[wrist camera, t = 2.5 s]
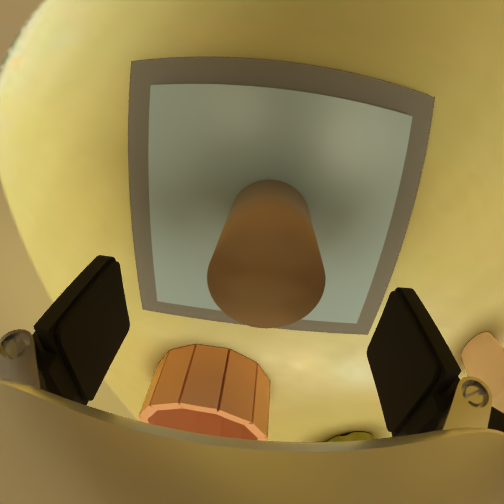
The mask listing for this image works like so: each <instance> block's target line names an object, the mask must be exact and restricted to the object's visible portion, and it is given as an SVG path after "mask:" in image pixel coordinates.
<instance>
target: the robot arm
mask: <svg viewBox="0 0 504 504" xmlns="http://www.w3.org/2000/svg"><path fill="white" fill-rule="evenodd" d="M129 327H130V322H129V316H128V311H127V306H126V300H125V295H124V289H123V283H122V276H121V269H120V264H119V262H116V260H115V258H114V257H109V256H102V255H98V256H97V257H96V258H95V259H94V260H93V261H92V262H91V263H90V264H89V265H88V266H87V267H86V268H85V269H84V270H83V271H82V272H81V273H80V274H79V275H78V277H77V278H76V279H75V280H74V281H73V282H72V283H71V284H70V285H69V286H68V287H67V288H66V289H65V291H64V292H63V293H62V294H61V295H60V296H59V297H58V298H57V300H56V301H55V302H54V303H53V304H52V305H51V306H50V308H49V309H48V310H47V311H46V312H45V313H44V314H43V316H42V317H41V318H40V319H39V320H38V322H37V323H36V324H35V325H34V329H35V332H34V334H33V335H32V334H31V333H30V332H29V331H26V330H21V329H18V330H13V331H10V332H8V333H7V334H5V335H4V336H3V337H2V338H1V339H0V504H504V413H503V412H501V411H499V410H497V409H496V408H494V407H492V394H491V391H490V389H489V388H488V386H487V385H486V384H485V383H484V382H483V381H482V380H480V379H478V378H476V377H471V376H467V377H464V378H462V379H461V380H460V379H459V377H458V375H459V374H460V372H461V369H460V367H459V366H458V364H457V362H456V360H455V358H454V356H453V354H452V353H451V351H450V349H449V347H448V345H447V344H446V342H445V340H444V338H443V337H442V335H441V333H440V331H439V330H438V328H437V326H436V325H435V323H434V321H433V320H432V318H431V316H430V315H429V313H428V311H427V310H426V308H425V307H424V305H423V303H422V302H421V300H420V299H419V297H418V296H417V294H416V293H415V291H414V290H413V289H411V288H400V287H398V288H396V290H395V291H392V292H391V293H390V295H389V298H388V301H387V303H386V306H385V308H384V311H383V313H382V316H381V318H380V321H379V323H378V325H377V328H376V330H375V332H374V335H373V337H372V339H371V342H370V344H369V346H368V349H367V358H368V361H369V364H370V368H371V371H372V374H373V378H374V381H375V385H376V388H377V392H378V396H379V399H380V403H381V407H382V411H383V414H384V418H385V422H386V426H387V429H388V431H389V432H392V436H393V437H390V438H381V439H372V440H360V441H344V442H276V441H260V440H248V439H237V438H228V437H220V436H213V435H206V434H199V433H193V432H188V431H182V430H177V429H172V428H167V427H162V426H158V425H153V424H149V423H145V422H141V421H137V420H133V419H129V418H125V417H122V416H118V415H115V414H112V413H108V412H105V411H102V410H99V409H96V408H92V407H89V406H86V405H87V403H88V401H91V400H93V399H94V396H95V395H96V393H97V391H98V389H99V387H100V385H101V383H102V381H103V379H104V377H105V375H106V373H107V371H108V369H109V367H110V365H111V363H112V361H113V359H114V357H115V355H116V353H117V352H118V350H119V348H120V346H121V344H122V342H123V340H124V338H125V337H126V335H127V333H128V331H129Z"/></svg>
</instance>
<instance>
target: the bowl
mask: <svg viewBox="0 0 504 504" xmlns="http://www.w3.org/2000/svg"><path fill="white" fill-rule="evenodd" d="M269 399H270V380H269V379H268V377H267V376H266V374H265V373H264V372H263V370H262V369H261V367H260V366H259V364H257V363H256V362H254V361H252V360H250V359H248V358H246V357H244V356H242V355H240V354H238V353H236V352H235V351H233V350H230V351H229V352H228V349H226V348H219V347H212V346H205V345H199V344H197V346H196V345H195V344H194V345H190V346H186V347H181V348H177V349H173V350H170V351H168V352H167V354H166V355H165V356H164V357H163V359H162V360H161V361H160V362H159V364H158V366H157V368H156V371H155V373H154V376H153V379H152V381H151V384H150V387H149V389H148V392H147V395H146V397H145V400H144V403H143V405H142V408H141V411H140V414H139V418H140V421H141V422H145V423H149V424H153V425H158V426H162V427H167V428H172V429H177V430H182V431H188V432H193V433H199V434H206V435H213V436H220V437H228V438H237V439H248V440H260V441H267V437H268V419H269Z"/></svg>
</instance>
